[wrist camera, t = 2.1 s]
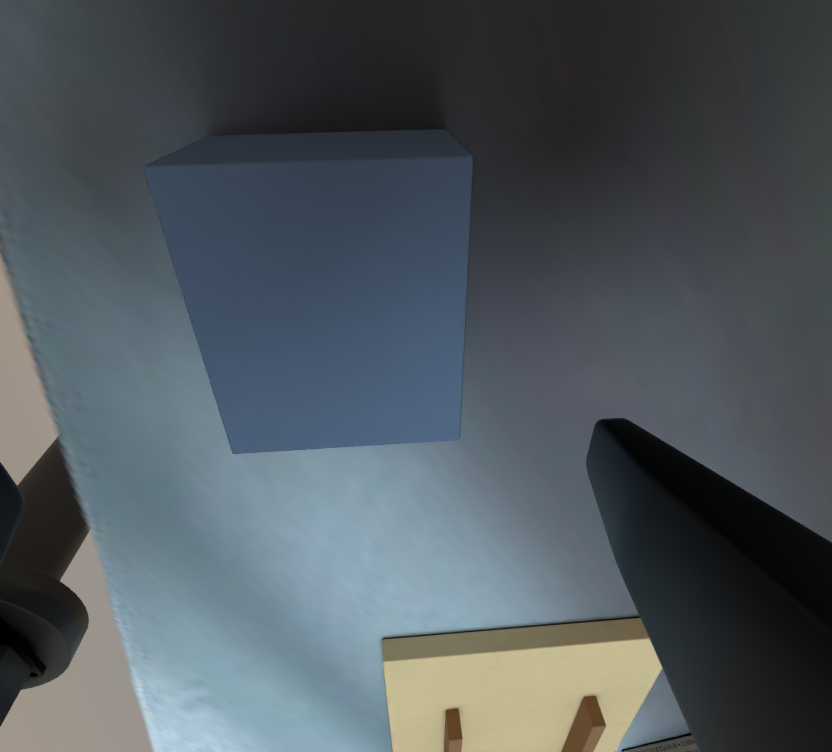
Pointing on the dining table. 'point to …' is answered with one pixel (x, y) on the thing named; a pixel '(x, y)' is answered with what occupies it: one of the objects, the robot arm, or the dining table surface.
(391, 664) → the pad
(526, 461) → the dining table surface
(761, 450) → the dining table surface
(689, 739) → the coffee box
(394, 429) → the blue block
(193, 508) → the dining table surface
